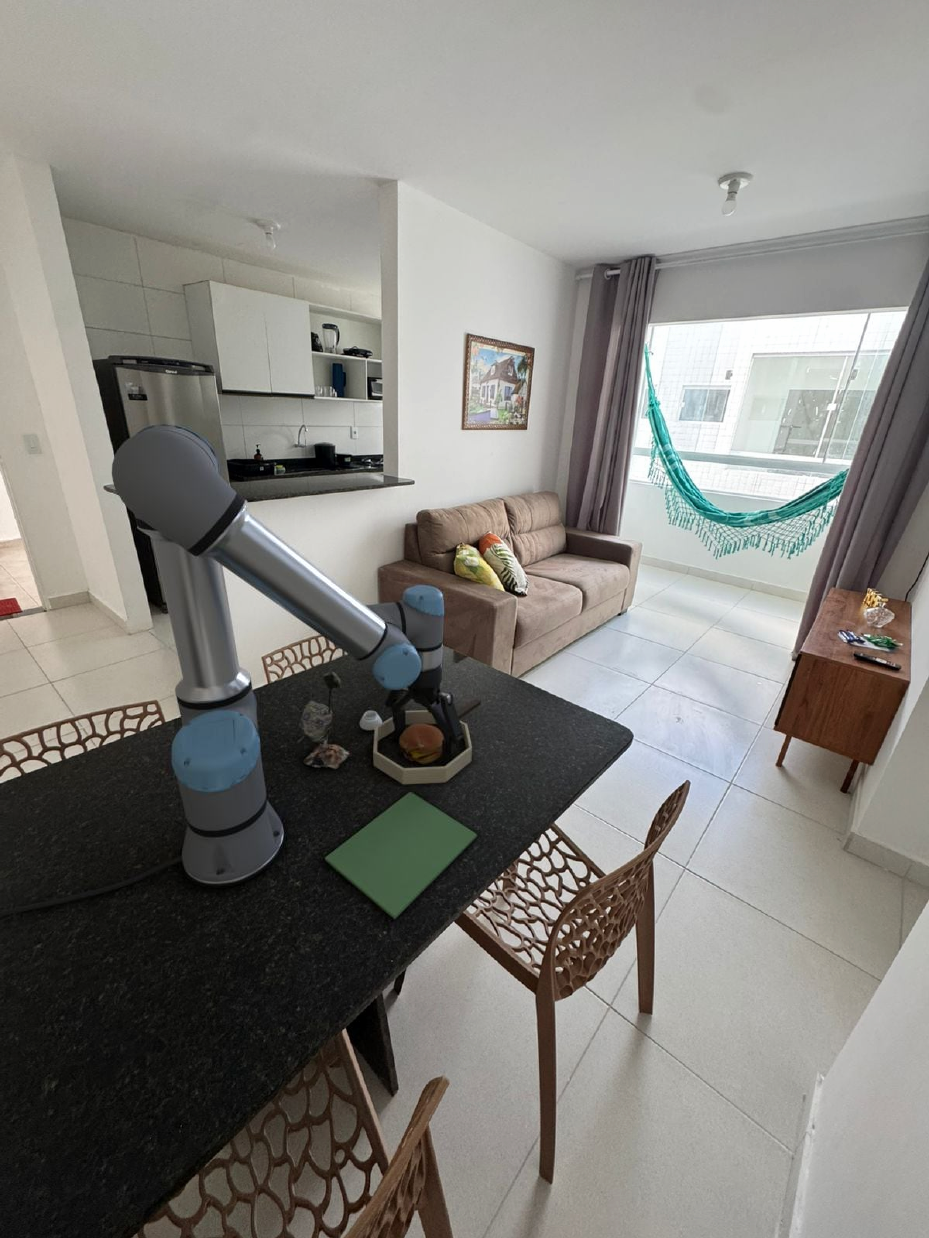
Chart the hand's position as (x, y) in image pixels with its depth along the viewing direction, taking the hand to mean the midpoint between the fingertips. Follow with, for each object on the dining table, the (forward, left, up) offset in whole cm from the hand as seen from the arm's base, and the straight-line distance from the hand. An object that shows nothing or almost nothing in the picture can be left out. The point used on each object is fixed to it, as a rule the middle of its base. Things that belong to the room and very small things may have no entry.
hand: (422, 749), depth 110 cm
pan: (+5, 0, 0) cm, 5 cm away
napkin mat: (-21, -15, 0) cm, 26 cm away
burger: (0, 0, 0) cm, 0 cm away
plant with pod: (-15, +14, 0) cm, 21 cm away
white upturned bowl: (-1, +15, 0) cm, 15 cm away
